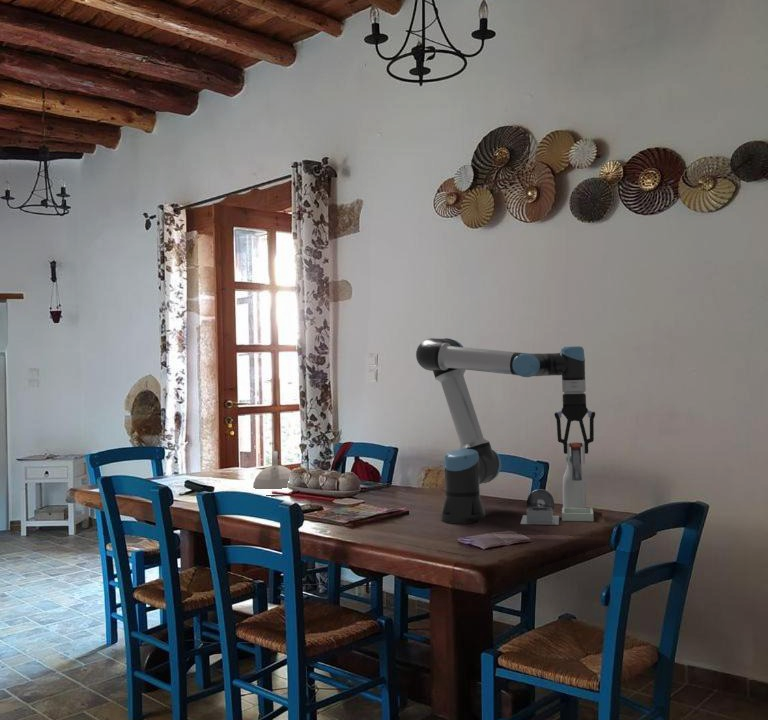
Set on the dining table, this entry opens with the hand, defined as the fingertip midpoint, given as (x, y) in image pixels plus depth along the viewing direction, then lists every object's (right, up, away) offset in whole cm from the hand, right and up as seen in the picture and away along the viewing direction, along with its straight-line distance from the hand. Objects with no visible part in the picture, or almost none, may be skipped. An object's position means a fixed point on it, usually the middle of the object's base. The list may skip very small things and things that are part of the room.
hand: (576, 463), depth 265 cm
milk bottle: (+3, -19, +13) cm, 24 cm away
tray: (0, -19, 0) cm, 19 cm away
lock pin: (0, -5, 0) cm, 5 cm away
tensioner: (-12, -20, -1) cm, 23 cm away
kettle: (-110, -23, +81) cm, 139 cm away
